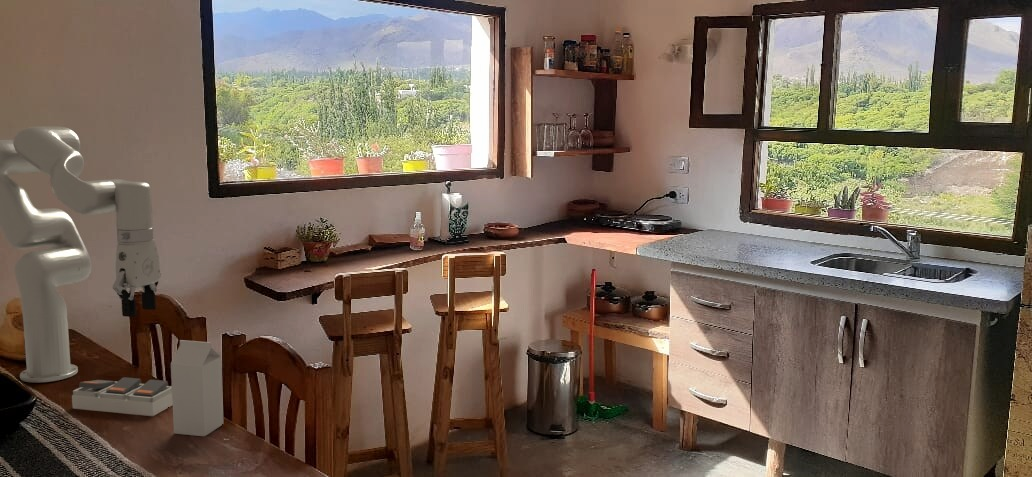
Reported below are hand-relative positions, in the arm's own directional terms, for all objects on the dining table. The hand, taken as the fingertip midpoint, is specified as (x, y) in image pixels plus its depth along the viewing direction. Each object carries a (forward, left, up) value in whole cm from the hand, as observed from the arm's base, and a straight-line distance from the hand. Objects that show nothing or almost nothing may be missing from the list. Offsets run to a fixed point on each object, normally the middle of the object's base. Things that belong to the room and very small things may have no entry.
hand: (139, 312), depth 190 cm
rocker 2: (+5, -7, -15) cm, 17 cm away
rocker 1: (-1, -10, -15) cm, 18 cm away
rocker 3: (+11, -3, -15) cm, 19 cm away
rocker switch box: (+5, -7, -20) cm, 21 cm away
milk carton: (+30, -2, -20) cm, 36 cm away
